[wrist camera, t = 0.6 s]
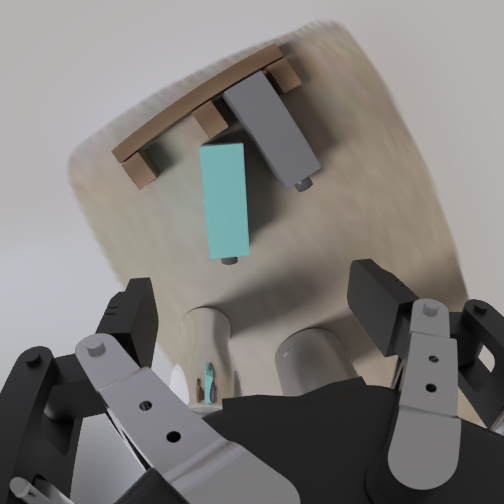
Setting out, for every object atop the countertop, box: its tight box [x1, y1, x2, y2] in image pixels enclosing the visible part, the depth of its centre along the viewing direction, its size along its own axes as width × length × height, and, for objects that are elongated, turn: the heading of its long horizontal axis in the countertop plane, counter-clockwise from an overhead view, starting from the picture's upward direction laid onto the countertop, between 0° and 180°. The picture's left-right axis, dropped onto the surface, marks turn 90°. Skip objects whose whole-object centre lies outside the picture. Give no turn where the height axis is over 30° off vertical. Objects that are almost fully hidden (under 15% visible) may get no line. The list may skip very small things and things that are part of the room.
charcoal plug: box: [223, 71, 322, 192], centre depth 27 cm, size 12×4×5 cm, turn 33°
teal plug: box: [199, 142, 250, 265], centre depth 29 cm, size 12×4×5 cm, turn 3°
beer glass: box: [169, 307, 244, 418], centre depth 30 cm, size 7×7×15 cm
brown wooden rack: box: [111, 43, 302, 190], centre depth 27 cm, size 5×18×2 cm, turn 123°
